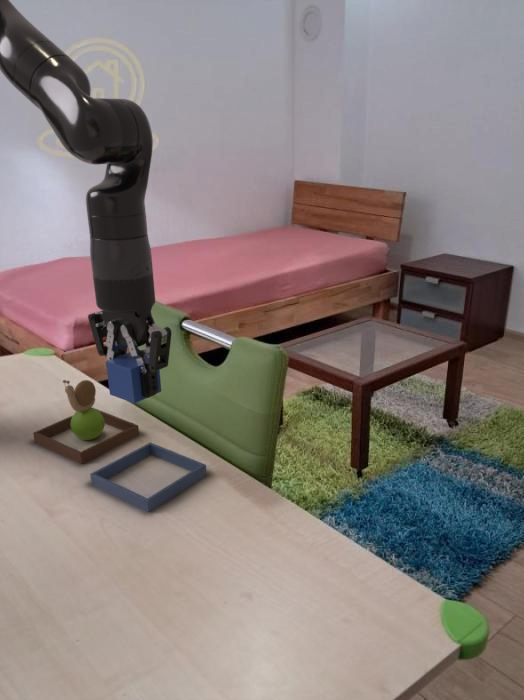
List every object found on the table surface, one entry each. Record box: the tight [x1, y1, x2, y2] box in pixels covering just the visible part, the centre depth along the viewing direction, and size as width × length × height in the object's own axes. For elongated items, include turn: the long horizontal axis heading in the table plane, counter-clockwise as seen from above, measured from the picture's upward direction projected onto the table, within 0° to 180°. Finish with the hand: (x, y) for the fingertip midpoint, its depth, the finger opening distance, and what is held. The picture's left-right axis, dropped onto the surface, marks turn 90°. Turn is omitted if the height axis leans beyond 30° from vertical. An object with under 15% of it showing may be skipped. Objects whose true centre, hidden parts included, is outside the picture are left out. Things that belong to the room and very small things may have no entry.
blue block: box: [105, 352, 162, 404], centre depth 87 cm, size 5×5×5 cm
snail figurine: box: [62, 379, 106, 441], centre depth 104 cm, size 5×6×12 cm
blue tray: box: [89, 442, 207, 513], centre depth 95 cm, size 12×12×2 cm
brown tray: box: [32, 406, 140, 465], centre depth 106 cm, size 12×12×2 cm
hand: (135, 390), depth 88 cm, fingers closed on blue block, 5 cm apart
